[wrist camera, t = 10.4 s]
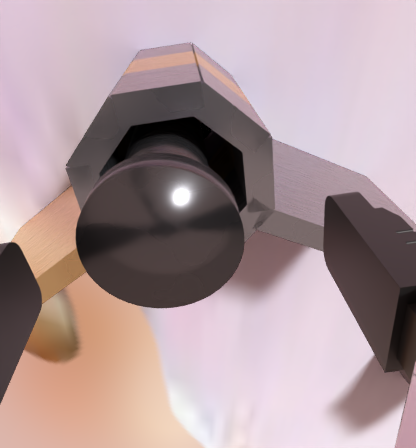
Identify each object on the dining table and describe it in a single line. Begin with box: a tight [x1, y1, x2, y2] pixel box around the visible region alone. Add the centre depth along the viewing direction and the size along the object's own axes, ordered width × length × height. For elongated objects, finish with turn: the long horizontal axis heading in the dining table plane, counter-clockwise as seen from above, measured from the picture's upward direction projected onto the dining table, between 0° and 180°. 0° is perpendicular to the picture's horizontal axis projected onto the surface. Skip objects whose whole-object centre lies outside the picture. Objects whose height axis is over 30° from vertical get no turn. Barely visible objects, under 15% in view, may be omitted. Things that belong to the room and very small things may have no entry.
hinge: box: [11, 43, 416, 304], centre depth 18 cm, size 10×23×10 cm, turn 98°
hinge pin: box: [75, 116, 245, 308], centre depth 16 cm, size 4×4×14 cm
